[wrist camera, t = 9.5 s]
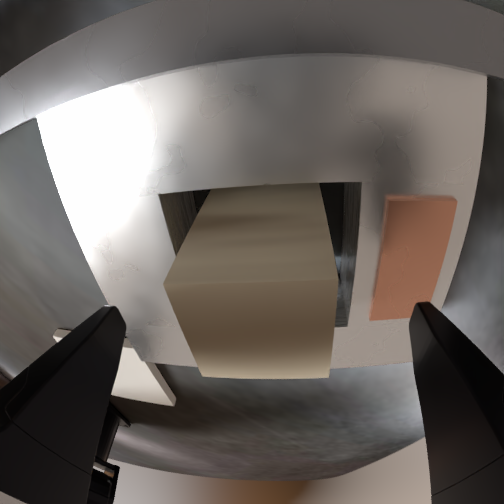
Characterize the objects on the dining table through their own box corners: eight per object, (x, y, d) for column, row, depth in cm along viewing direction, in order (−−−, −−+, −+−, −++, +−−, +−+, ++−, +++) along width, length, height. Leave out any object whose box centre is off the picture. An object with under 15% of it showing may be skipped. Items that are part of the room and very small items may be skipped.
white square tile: (176, 398, 23) (174, 406, 22) (100, 385, 24) (97, 391, 24) (140, 339, 19) (136, 348, 18) (57, 328, 20) (52, 336, 19)
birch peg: (318, 260, 14) (328, 377, 9) (230, 264, 14) (202, 376, 9) (317, 175, 11) (338, 278, 6) (214, 183, 12) (162, 284, 7)
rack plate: (405, 316, 15) (428, 404, 11) (157, 320, 17) (126, 400, 13) (440, 31, 7) (539, 32, 3) (77, 68, 9) (-26, 96, 5)
